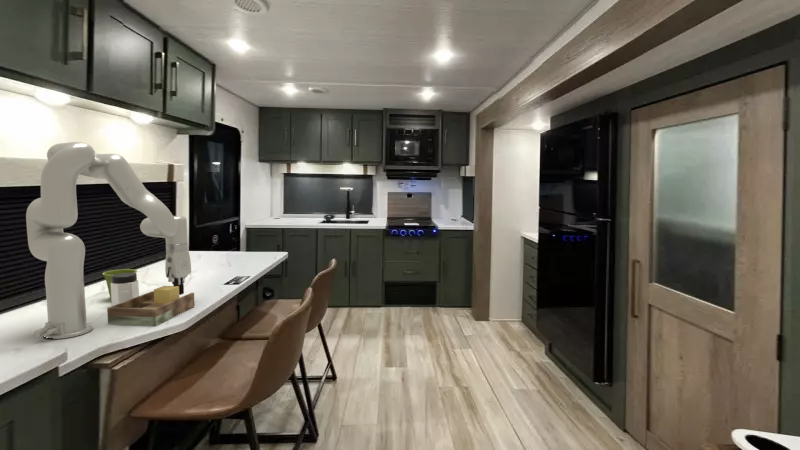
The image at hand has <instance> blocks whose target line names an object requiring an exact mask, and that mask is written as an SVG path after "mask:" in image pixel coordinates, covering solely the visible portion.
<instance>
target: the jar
mask: <svg viewBox="0 0 800 450" xmlns="http://www.w3.org/2000/svg"><path fill="white" fill-rule="evenodd" d="M139 287H140V286H139V280H138V276H137V272H136V273H120V274H115V275H112V283H111V299H110V301H111V306H114V305H117V304H119V303H122V302H125V301H127V300H130V299H133V298H135V297H138V296H140V291H139V290H140V289H139Z"/></svg>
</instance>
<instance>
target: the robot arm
mask: <svg viewBox="0 0 800 450" xmlns="http://www.w3.org/2000/svg"><path fill="white" fill-rule="evenodd" d="M94 149H95V148H93V146H91V145H90V144H87V142H81V141H73V142H71V141H70V142H62V143H56V144H54V145H52V146H50V148H49V149H48V150H47V153H46V159H47V162H46V164H44V167H43V169H42V172H41V174H40V197H38V198H36V199H33V201H31V203H30V204H29V205H28V206H27V209H26V212H25V213H26V214H25V219H26V220H25V221H26V235H27V245H28V249H29V251H30V253H31V254H32V256H33V257H34V258H36V259H38V260H40V261H44V262H46V266H45V273H44V286H45V297H46V308H47V309H46V310H47V322H45V323H44V325H45V326H43V327H42V328H39V329H36V330H34V332H33V334H34V336H35V337H36V338H38V337H41V336H42V335H43V336H45V337H48V338H53V339H52V340H62V339H67V338H68V339H69V338H74V337H78V336H81V335H84V334H87V333H90V332H91V331H92V330H93V329H94V325H93V324H92V323H90V322H87V307H86V294H85V293H86V292H85V291H86V290H85V277H84V264H85V255H86V246H85V244H84V242H83V240H82V239H81V238H80V237H79V236H78V235H75V234H73V233H69V232H64V229H67V228H71V227H72V226H74V225H75V224H76V223H77V220H78V215H79V213H78V200H77V181H78V178H79V176H80V175H81V176H85V177H90V178H94V179H99V180H100V179H101V180H102V179H104V180H105V181H106V182H107V183H108V184H109V186H110V187H111V188H112V190H113V191H114V193H116V195H117V197H119V199H120V200H121V201H122V202H123V203H124V204H126V205H128V207H130V208H134V209H135V210H137V211H139V212H141V213H142V214H143V215H145V216H146V218H144V219H143V220H142V221H141V223H140V225H139V228H140V231H141V232H142V234H143V235H145V236H148V237H152V238H160V239H161V238H163V239H165V253H166V254H165V263H164V265H165V277H166V278H167V279H168V281H167V282H169V283H171V284H172V286H179V296H182V295H184V293H185V290H184V289H185V286H184V284H185V279H186V278H187V277H188V276H189V275H191V273H192V263H191V255H190V251H189V247H188V241H189V240H188V221H187V219H188V218H187V217H186V216H183V215H173V213H172V211H170V209H169V208H168V207H167V206H166V204H164V203H163V202H162V201H161V200H160V199H158V197H157V196H155V195H154V194H153V193H151V191H149V190H148V189H147V188H146V187H145V185H144V184H143V182H142V181H141V180H140V178H139V177H138V175H137V174H136V172H135V171H134V169H133V168H132V166H131V165H130V163H128V161H127V160H126V158H125V157H124V156H123V155H120V154H117V153H98V152H96V151H95V150H94ZM43 336H42V337H43Z"/></svg>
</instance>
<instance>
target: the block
mask: <svg viewBox="0 0 800 450" xmlns="http://www.w3.org/2000/svg"><path fill="white" fill-rule="evenodd" d="M153 291H154V303H169V302H171V301H174V300H176V299H178V298H180V295H179V286H173V285H162V286H160V287H158V288H155V289H153Z"/></svg>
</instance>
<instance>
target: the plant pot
mask: <svg viewBox="0 0 800 450" xmlns="http://www.w3.org/2000/svg"><path fill="white" fill-rule="evenodd" d="M120 273H136V274H137V273H138V270H137V269H131V268H127V269H126V268H125V269H114V270H107V271H104V272H102V275H103V276H104V280H105V283H106V286H107V290H108V295H109V299H110V300H111V283H112V275H115V274H120Z"/></svg>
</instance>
